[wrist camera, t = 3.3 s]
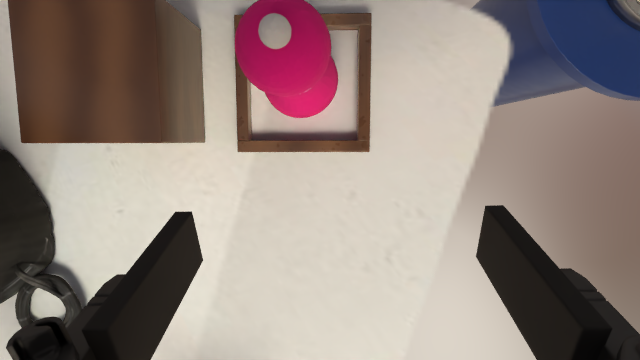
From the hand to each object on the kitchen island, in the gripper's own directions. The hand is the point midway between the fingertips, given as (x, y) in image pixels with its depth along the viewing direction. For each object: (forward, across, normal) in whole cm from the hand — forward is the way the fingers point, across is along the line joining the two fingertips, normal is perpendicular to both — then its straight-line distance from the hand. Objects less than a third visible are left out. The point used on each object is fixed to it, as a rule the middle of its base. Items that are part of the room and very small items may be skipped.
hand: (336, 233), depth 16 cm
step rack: (+25, -11, +2) cm, 27 cm away
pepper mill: (+25, -3, +2) cm, 25 cm away
